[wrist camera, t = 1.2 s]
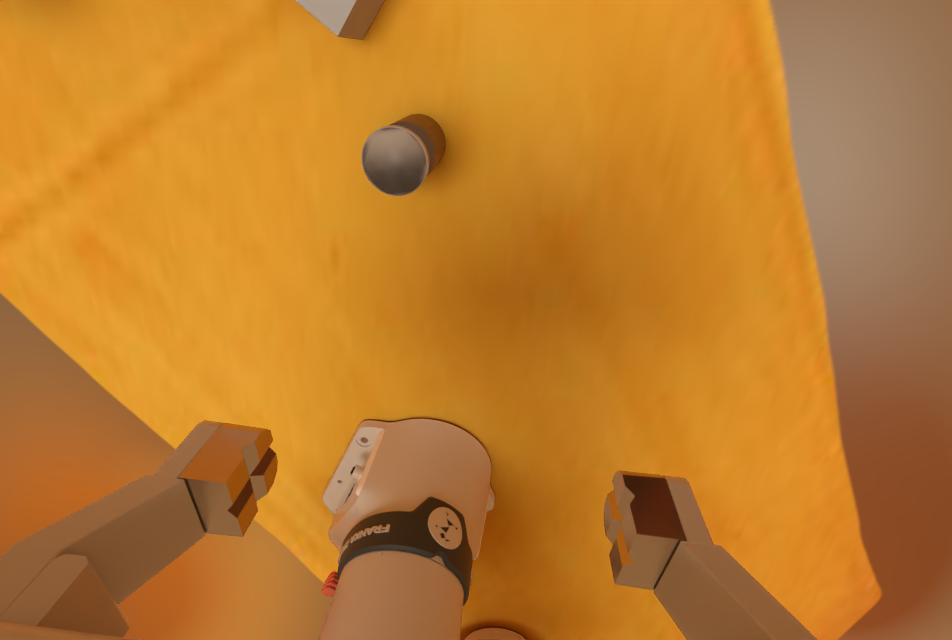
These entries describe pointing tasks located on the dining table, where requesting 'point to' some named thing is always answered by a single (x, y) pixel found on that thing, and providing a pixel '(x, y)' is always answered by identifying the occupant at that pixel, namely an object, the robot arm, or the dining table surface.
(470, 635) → the paper bowls
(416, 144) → the plug
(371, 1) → the socket block
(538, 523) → the dining table surface
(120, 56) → the dining table surface
